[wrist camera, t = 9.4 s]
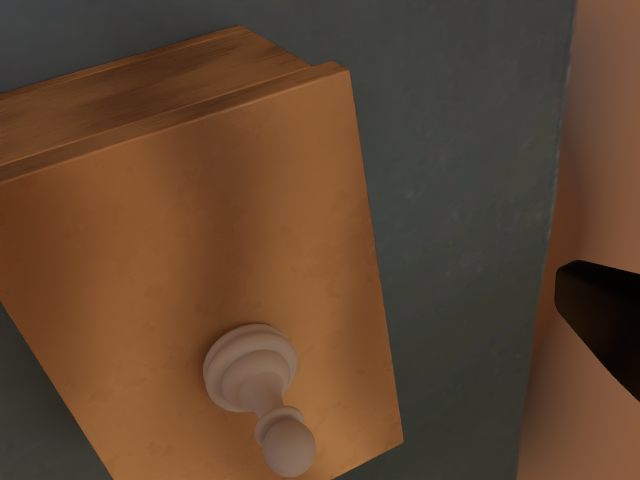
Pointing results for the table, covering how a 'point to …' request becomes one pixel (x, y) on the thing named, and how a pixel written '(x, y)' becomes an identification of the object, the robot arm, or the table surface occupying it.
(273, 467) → the pawn
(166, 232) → the shelf
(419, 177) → the table surface
